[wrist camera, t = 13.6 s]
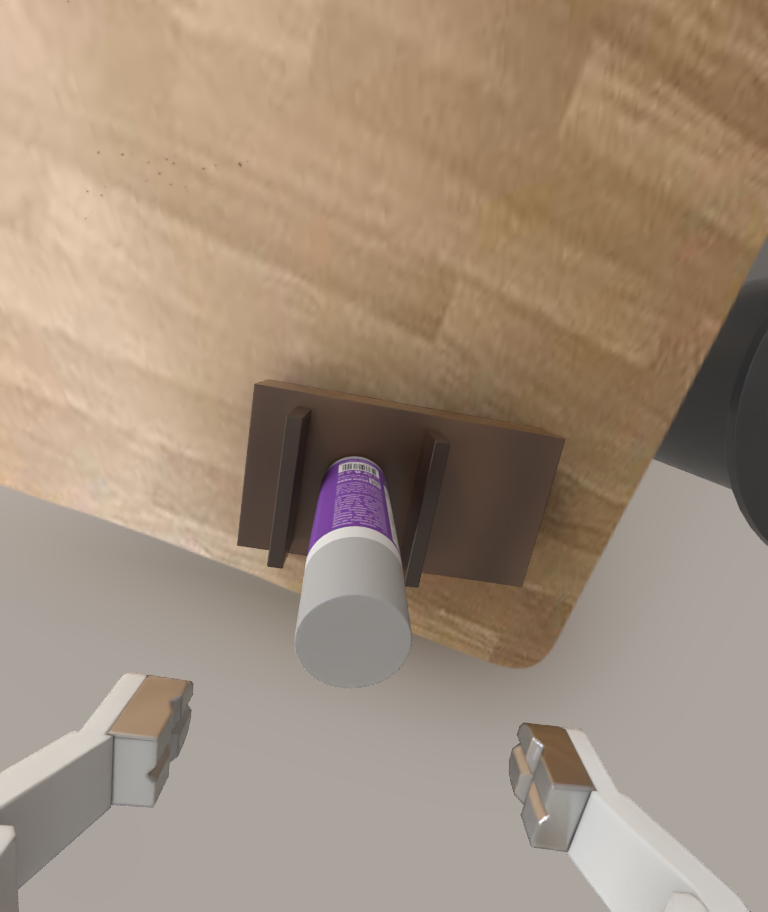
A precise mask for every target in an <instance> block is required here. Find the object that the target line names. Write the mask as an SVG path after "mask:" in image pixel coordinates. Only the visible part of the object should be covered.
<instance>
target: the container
mask: <svg viewBox="0 0 768 912" xmlns="http://www.w3.org/2000/svg"><path fill="white" fill-rule="evenodd" d="M294 640H295V641H294V642H295V643H294V644H295V651H296V655H297V658H298V660H299V662H300V663H301V665H302V666H303V668H304V669H305V670H306V671H307V672H308V673H309V674H310V675H312V676H313V677H314V678H316V679H317V680H319V681H321V682H323V683H325V684H328V685H331V686H335V687H341V688H361V687H367V686H370V685H374V684H377V683H379V682H382V681H384V680H385V679H387V678H389V677H390V676H392V675H393V674H394V673H395V672H396V671H398V670H399V669H400V667H401V666H402V665H403V664H404V662H405V661H406V659H407V657H408V655H409V652H410V650H411V645H412V633H411V626H410V619H409V612H408V605H407V598H406V591H405V584H404V577H403V569H402V561H401V556H400V550H399V545H398V540H397V534H396V529H395V524H394V519H393V513H392V508H391V503H390V497H389V492H388V487H387V482H386V478H385V475H384V473H383V472H382V470H381V469H380V467H379V466H378V465H377V464H375V463H374V462H372V461H371V460H369V459H366V458H363V457H356V456H352V457H346V458H342V459H340V460H338V461H336V462H335V463H333V464H332V465H331V466H330V467H329V468H328V469H327V471H326V472H325V474H324V476H323V479H322V483H321V488H320V493H319V498H318V503H317V508H316V513H315V518H314V523H313V528H312V533H311V538H310V543H309V549H308V554H307V559H306V564H305V572H304V579H303V585H302V592H301V599H300V606H299V612H298V619H297V626H296V633H295V639H294Z"/></svg>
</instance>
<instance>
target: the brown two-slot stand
mask: <svg viewBox="0 0 768 912" xmlns="http://www.w3.org/2000/svg"><path fill="white" fill-rule="evenodd" d="M564 442H565V439H564V438H562V437H560V436H558V435H555V434H553V433H551V432H549V431H547V430H544V429H542V428H536V427H531V426H525V425H519V424H514V423H508V422H503V421H497V420H492V419H486V418H480V417H475V416H469V415H464V414H458V413H453V412H447V411H441V410H436V409H430V408H425V407H419V406H413V405H408V404H402V403H397V402H391V401H386V400H380V399H374V398H369V397H363V396H358V395H352V394H347V393H341V392H335V391H330V390H324V389H319V388H313V387H307V386H302V385H296V384H291V383H285V382H280V381H274V380H265V381H262V382H259V383H256V384H254V393H253V402H252V411H251V421H250V430H249V439H248V449H247V458H246V467H245V476H244V486H243V495H242V504H241V514H240V523H239V532H238V541H237V545H238V546H244V547H251V548H258V549H265V550H269V555H268V563H267V566H268V567H275V568H283V566H284V563H285V560H286V558H287V555H288V553H292V554H299V555H306V556H307V554H308V549H309V543H310V538H311V533H312V528H313V523H314V518H315V513H316V508H317V503H318V498H319V493H320V488H321V483H322V479H323V476H324V474H325V472H326V471H327V469H328V468H329V467H330V466H331V465H332V464H333V463H335V462H336V461H338V460H340V459H342V458H346V457H352V456H356V457H363V458H366V459H369V460H371V461H372V462H374V463H375V464H377V465H378V466H379V467H380V469H381V470H382V472H383V473H384V475H385V478H386V482H387V487H388V492H389V497H390V503H391V508H392V513H393V519H394V524H395V529H396V534H397V540H398V545H399V550H400V556H401V561H402V569H403V577H404V584H405V586H409V587H416V588H418V586H419V582H420V577H421V573H429V574H436V575H443V576H450V577H457V578H463V579H470V580H477V581H484V582H491V583H498V584H505V585H511V586H518V587H522V585H523V582H524V579H525V575H526V572H527V568H528V565H529V562H530V558H531V555H532V551H533V548H534V545H535V541H536V538H537V534H538V531H539V527H540V524H541V521H542V517H543V514H544V510H545V507H546V504H547V500H548V497H549V493H550V490H551V487H552V483H553V480H554V476H555V473H556V470H557V466H558V463H559V459H560V456H561V452H562V449H563V446H564Z"/></svg>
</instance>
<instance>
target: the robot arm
mask: <svg viewBox="0 0 768 912" xmlns="http://www.w3.org/2000/svg"><path fill="white" fill-rule="evenodd" d="M192 695H193V683H192V682H191V681H187V680H180V679H173V678H167V677H160V676H153V675H144V674H138V673H131V672H128V673H126V674H125V675H123V676H122V677H121V678H120V679H119V681H118V682H117V683H116V685H115V686H114V687H113V688H112V690H111V691H110V692H109V694H108V695H107V696H106V698H105V699H104V700H103V701H102V703H101V704H100V705H99V707H98V708H97V709H96V711H95V712H94V713H93V714H92V716H91V717H90V719H89V720H88V721H87V722H86V724H85V725H84V726H83V728H82V729H81V730H80V731H79V732H75V731H72V732H70V733H68V734H66V735H65V736H63V737H61V738H60V739H58V740H56V741H54V742H52V743H51V744H49V745H47V746H46V747H44V748H42V749H40V750H39V751H37V752H35V753H33V754H32V755H30V756H28V757H26V758H25V759H23V760H21V761H20V762H18V763H16V764H14V765H13V766H11V767H9V768H7V769H6V770H4V771H2V772H1V773H0V912H19V910H18V909H19V908H18V889H19V888H20V887H22V886H23V885H24V884H25V883H26V882H27V881H28V880H29V879H31V878H32V877H33V876H34V875H35V874H36V873H37V872H38V871H39V870H41V869H42V868H43V867H44V866H45V865H46V864H48V863H49V862H50V861H51V860H52V859H53V858H54V857H55V856H57V855H58V854H59V853H60V852H61V851H62V850H63V849H65V848H66V847H67V846H68V845H69V844H70V843H71V842H72V841H74V840H75V839H76V838H77V837H78V836H79V835H80V834H82V833H83V832H84V831H85V830H86V829H87V828H88V827H89V826H91V825H92V824H93V823H94V822H95V821H96V820H97V819H98V818H100V817H101V816H102V815H103V814H104V813H105V812H106V811H108V810H109V809H110V808H111V805H122V806H136V807H149V808H153V807H154V805H155V803H156V801H157V799H158V797H159V795H160V793H161V791H162V789H163V786H164V784H165V782H166V780H167V778H168V775H169V763H170V762H171V761H173V760H174V759H175V758H177V757H178V755H179V753H180V751H181V748H182V746H183V744H184V741H185V738H186V735H187V732H188V728H189V724H190V719H191V709H190V707H189V706H188V703H189V701H190V699H191V697H192ZM517 736H518V739H519V741H520V743H519V744H518V745H517V746H515V747H514V748H513V749H512V752H511V756H510V760H509V775H510V781H511V785H512V789H513V792H514V795H515V796H516V797H517V798H518V799H519V800H520V802H521V803H522V804H523V805H524V806H523V810H522V813H521V817H522V820H523V823H524V826H525V829H526V833H527V835H528V839H529V842H530V845H531V847H534V848H541V849H548V850H556V851H563V852H568V856H569V857H570V859H571V860H572V861H573V863H574V864H575V865H576V866H577V868H578V869H579V870H580V872H581V873H582V874H583V876H584V877H585V878H586V880H587V881H588V882H589V884H590V885H591V886H592V888H593V889H594V890H595V891H596V893H597V894H598V895H599V897H600V898H601V899H602V901H603V902H604V903H605V905H606V906H607V907H608V908H609V910H610V911H611V912H751V911H750V910H749V909H748V907H747V906H746V904H745V903H744V901H743V900H742V898H741V897H740V896H739V895H738V894H737V893H736V892H735V891H734V890H733V889H732V888H730V887H729V886H728V885H727V884H726V883H725V882H724V881H723V880H721V879H720V878H719V877H718V876H717V875H716V874H715V873H714V872H712V871H711V870H710V869H709V868H708V867H707V866H706V865H704V864H703V863H702V862H701V861H700V860H699V859H698V858H697V857H695V856H694V855H693V854H692V853H691V852H690V851H689V850H688V849H686V848H685V847H684V846H683V845H682V844H681V843H680V842H679V841H677V840H676V839H675V838H674V837H673V836H672V835H671V834H670V833H668V832H667V831H666V830H665V829H664V828H663V827H662V826H661V825H659V824H658V823H657V822H656V821H655V820H654V819H653V818H651V817H650V816H649V815H648V814H647V813H646V812H645V811H644V810H642V809H641V808H640V807H639V806H638V805H637V804H636V803H635V802H633V801H632V800H631V799H630V798H629V797H628V796H627V795H623V794H620V793H619V791H618V790H617V788H616V786H615V784H614V783H613V781H612V779H611V777H610V775H609V774H608V772H607V770H606V768H605V767H604V765H603V763H602V761H601V760H600V758H599V756H598V754H597V752H596V751H595V749H594V747H593V745H592V743H591V742H590V740H589V738H588V736H587V735H586V733H585V732H584V731H583V730H582V729H575V728H567V727H557V726H549V725H540V724H531V723H523V724H521V726H520V727H519V730H518V733H517Z"/></svg>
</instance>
